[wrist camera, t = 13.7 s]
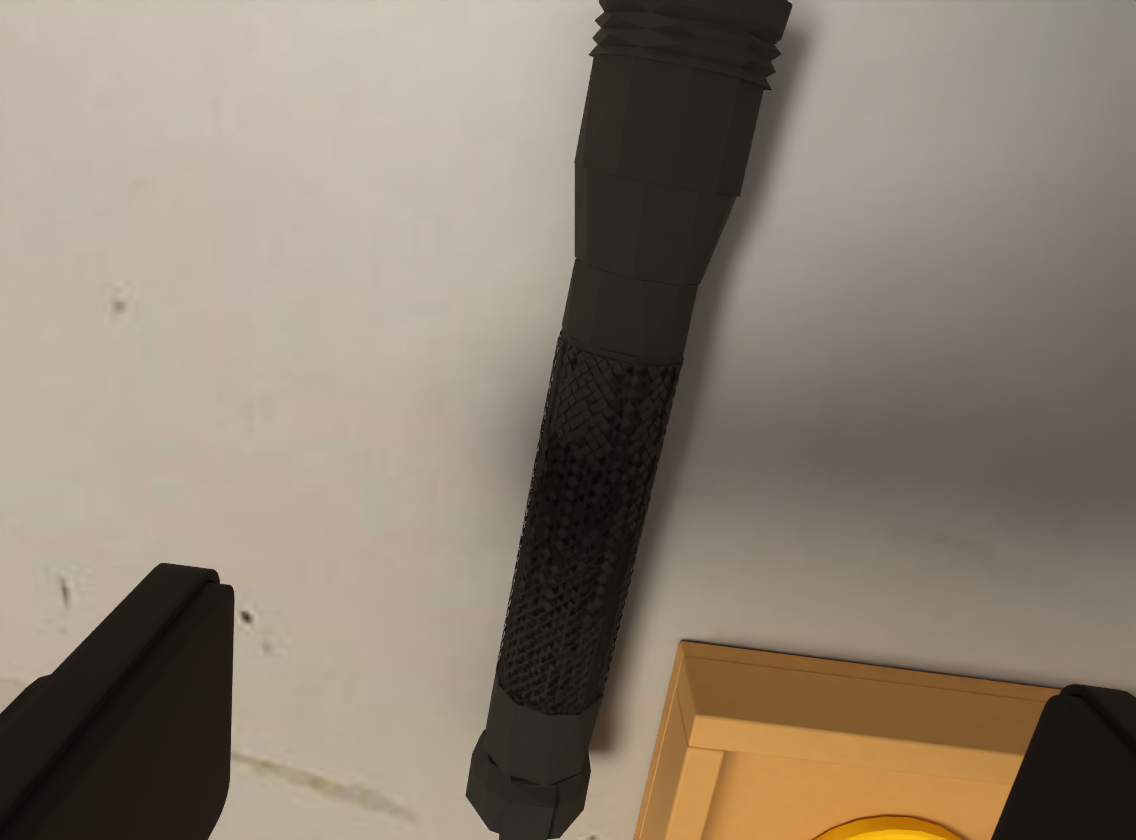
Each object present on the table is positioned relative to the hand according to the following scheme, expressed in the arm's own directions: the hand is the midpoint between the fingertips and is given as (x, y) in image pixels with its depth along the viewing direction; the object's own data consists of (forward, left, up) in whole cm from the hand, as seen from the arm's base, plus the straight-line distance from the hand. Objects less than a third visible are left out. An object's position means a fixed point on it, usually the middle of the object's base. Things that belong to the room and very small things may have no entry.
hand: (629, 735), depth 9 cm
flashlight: (0, 0, -9) cm, 9 cm away
